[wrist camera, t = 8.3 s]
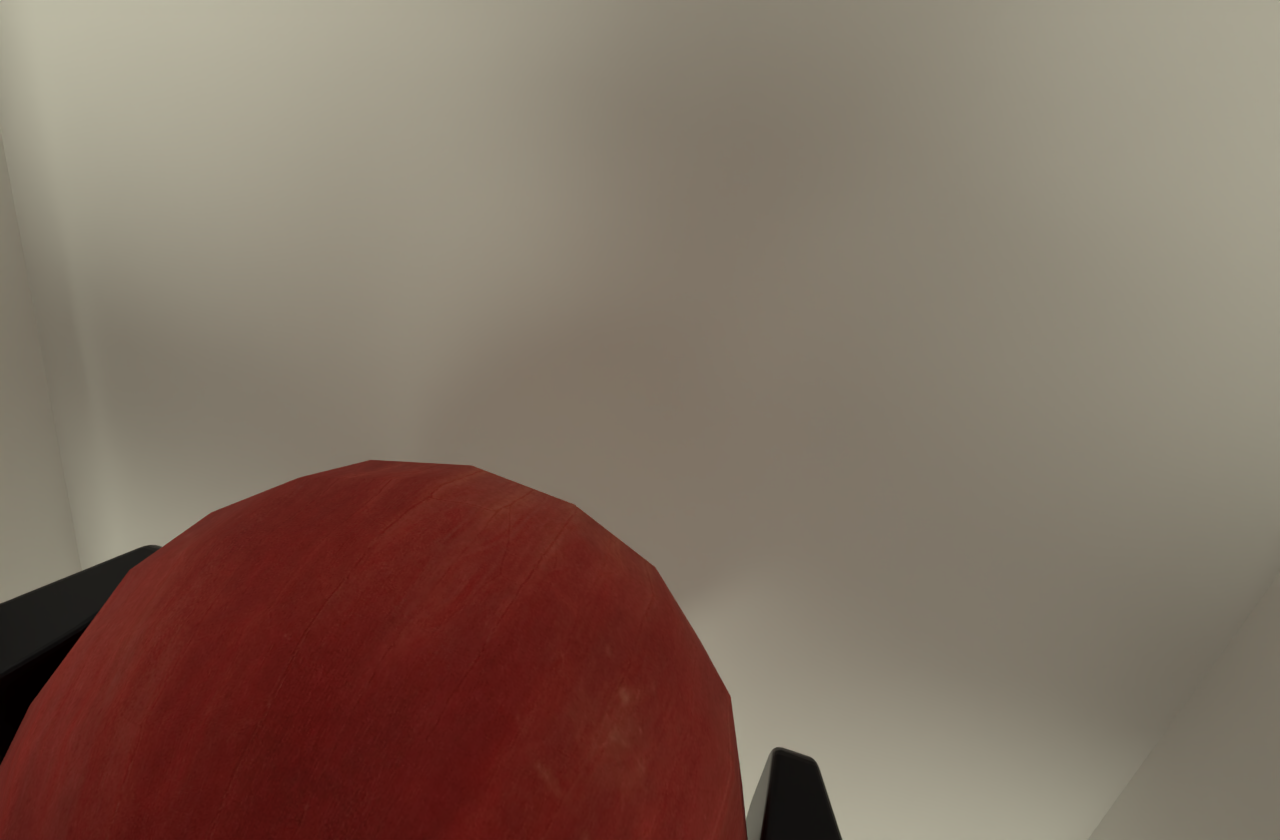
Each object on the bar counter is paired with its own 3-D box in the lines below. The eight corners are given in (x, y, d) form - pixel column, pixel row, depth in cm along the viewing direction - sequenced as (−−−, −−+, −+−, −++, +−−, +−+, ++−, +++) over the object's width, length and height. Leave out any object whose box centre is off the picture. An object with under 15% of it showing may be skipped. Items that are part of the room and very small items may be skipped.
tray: (1018, 1021, 17) (1036, 1271, 14) (77, 693, 19) (-78, 852, 16) (1994, -218, 7) (2741, -242, 4) (-194, -624, 9) (-722, -828, 6)
